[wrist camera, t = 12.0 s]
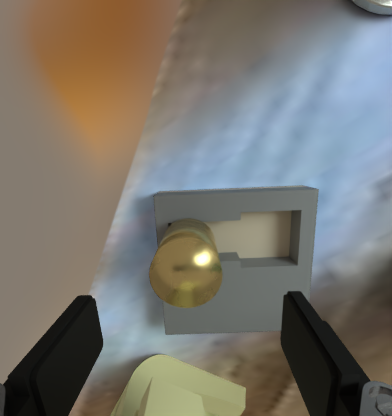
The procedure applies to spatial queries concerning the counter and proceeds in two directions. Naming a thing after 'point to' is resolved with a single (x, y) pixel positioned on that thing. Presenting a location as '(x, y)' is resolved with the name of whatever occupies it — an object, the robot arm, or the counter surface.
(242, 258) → the board
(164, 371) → the slatted curved stool
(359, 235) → the counter surface
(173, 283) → the peg
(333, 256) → the counter surface
